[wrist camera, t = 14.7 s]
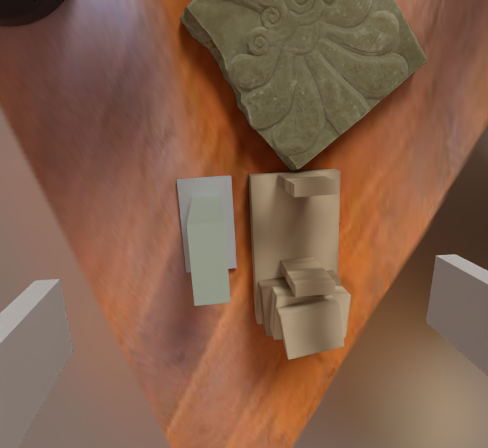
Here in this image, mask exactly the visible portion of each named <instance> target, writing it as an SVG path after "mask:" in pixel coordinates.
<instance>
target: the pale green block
mask: <svg viewBox="0 0 488 448" xmlns="http://www.w3.org/2000/svg"><path fill="white" fill-rule="evenodd" d="M187 235H188V245H189V255H190V265H191V276H192V286H193V296H194V306H199V305H209V304H219V303H229V302H230V288H229V274H228V259H227V244H226V229H225V220H224V215H223V211H222V207H221V202H220V198H219V195H212V196H198V197H192V199H191V204H190V209H189V215H188V220H187Z"/></svg>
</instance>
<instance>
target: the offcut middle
mask: <svg viewBox="0 0 488 448" xmlns="http://www.w3.org/2000/svg"><path fill="white" fill-rule="evenodd" d="M329 295H333V297H334V298H335V299H336V300H337V302H338V303H339V307H340V314H341V322H342V330H343V337H346V330H347V322H348V315H349V307H350V299H351V295H350V294H349V293H348V292H347V291H346V290H345V289H344V288H343V286H335V293H333V294H323V295H313V296H303V297H295V295H294V293H293V292H292V290H291V288H290V286H286V287H272V299H271V315H270V329H271V332H272V335H273V338H274V340H281V339H282V334H281V328H280V323H279V318H278V312H277V307H281V306H285V305H290V304H294V303H298V302H303V301H307V300H311V299H316V298H320V297H324V296H329Z"/></svg>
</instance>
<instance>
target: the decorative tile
mask: <svg viewBox="0 0 488 448" xmlns="http://www.w3.org/2000/svg"><path fill="white" fill-rule="evenodd" d="M180 20H181V22H182V23H183V24H184V25H185V27H186V28H187V30H188V32H189V33H190V34H191V36H192V37H193V38H194V39H196V40H197V41H198V42H199V43H200V44H202V45H203V46H204V47H206V48H207V49H208V50H209V51H210V53H211V54H212V55H213V57H214V59H215V61H216V62H217V63H218V66H219V68H220V69H221V72H222V76H223V78H224V79H225V80H226V81H227V82H228V83H229V84H230V86H231V87H232V89H233V91H234V93H235V97H236V102H237V106H238V108H239V109H240V110H241V111H242V112H243V113H244V115H245V116H246V118H247V121H248V123H249V125H250V126H251V127H252V128H253V129H255V130H256V131H257V133H258V134H260V135H261V136H262V138H263V139H264V140H265V141H266V142H267V143H268V145H269V146H270V147H271V148H272V149H273V150H274V151H275V152H276V154H277V155H278V156H279V157H280V159H281V161H283V163H284V164H285V165H286V166H287V167H288V168H289V169H290V170H291V171H295V170H298V169H300V168H301V167H303V166H304V165H305V164H307V163H308V162H309V161H310V160H311V159H313V158H314V157H315V156H316V155H317V154H319V153H320V152H321V151H322V150H323V149H325V148H326V147H327V146H328V145H329V144H330V143H331V142H333V141H334V140H335V139H336V138H337V137H339V136H340V135H341V134H343V133H344V132H345V131H347V130H348V129H349V128H350V127H351V126H353V125H354V124H355V123H356V122H357V121H359V120H360V119H361V118H362V117H364V116H365V115H366V114H367V113H368V112H369V111H370V110H371V109H372V108H373V107H374V106H376V105H377V104H378V103H379V102H380V101H381V100H382V99H384V98H385V97H386V96H388V95H389V94H390V93H391V92H392V91H394V90H395V89H396V88H397V87H398V86H399V85H401V84H402V83H403V82H404V81H405V80H406V79H407V78H408V77H409V76H410V75H411V74H413V73H414V72H415V71H416V70H418V69H419V68H420V67H421V66H422V65H424V64H425V63H426V61H427V57H426V55H425V53H424V51H423V49H422V47H421V45H420V44H419V42H418V40H417V38H416V36H415V35H414V33H413V31H412V29H411V28H410V26H409V24H408V22H407V21H406V19H405V17H404V15H403V13H402V12H401V10H400V8H399V6H398V4H397V2H396V1H395V0H192V1H191V2H190V3H189V4H188V5H187V6H186V8H185V11H184V13H183V14H182V16H181V17H180Z"/></svg>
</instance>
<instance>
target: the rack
mask: <svg viewBox="0 0 488 448" xmlns="http://www.w3.org/2000/svg"><path fill="white" fill-rule="evenodd" d="M248 177H249V199H250V220H251V241H252V262H253V284H254V305H255V318H256V321H257V324H263V322H262V312H261V302H260V292H259V282H258V281H259V280H266V279H273V278H280V277H285V279H286V281H287V283H288V284H289V286H290V288H291V290H292V292H293V293H294V295H295V297H303V296H313V295H323V294H333V293H335V284H336V282H335V281H334V280H333V279H332V277H331V276H330V275H329V274H328V273H327V272H326V271H329V270H333V271H334V272H335V273H336V274H337V275H338V245H339V204H340V170H336V169H323V170H307V171H292V172H276V173H261V174H248Z"/></svg>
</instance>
